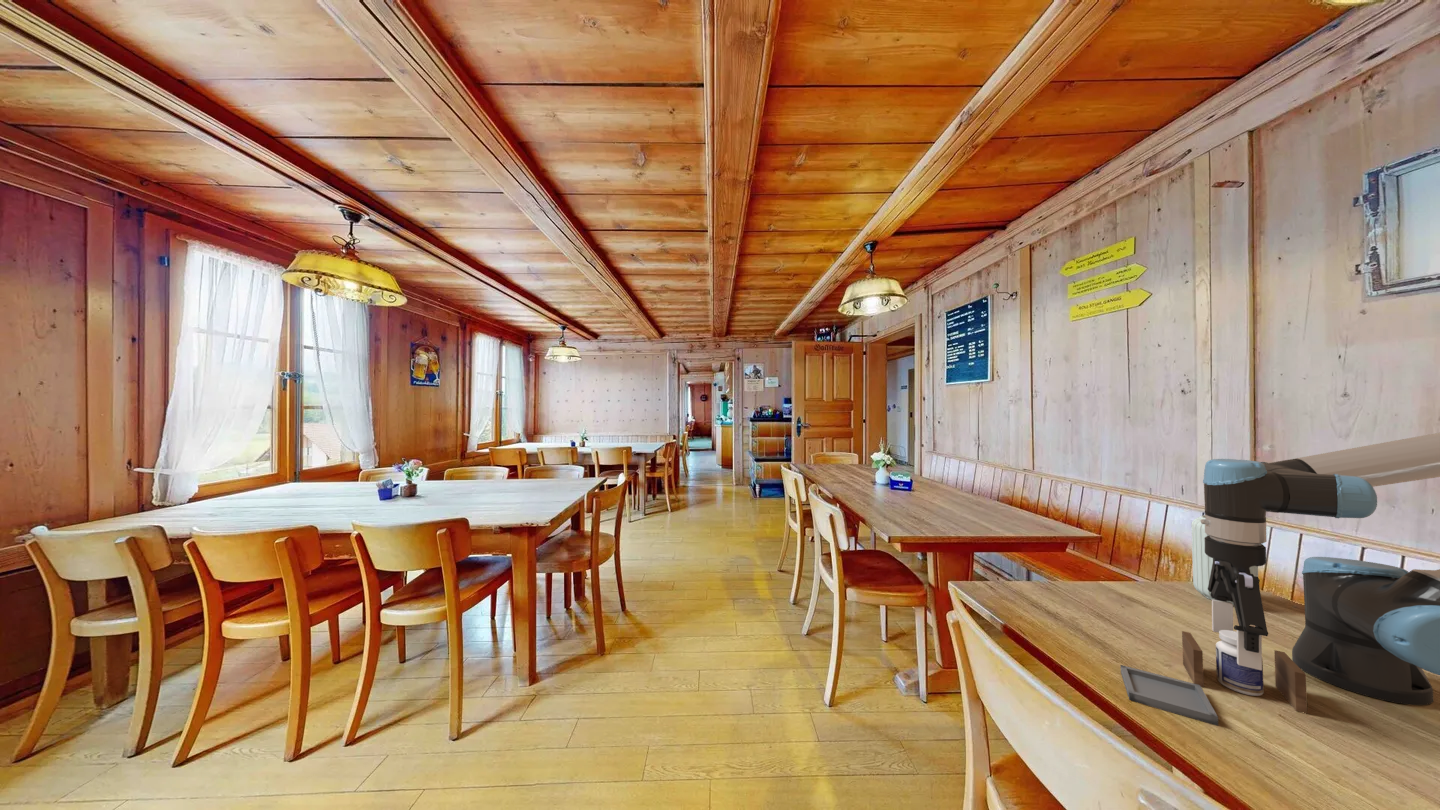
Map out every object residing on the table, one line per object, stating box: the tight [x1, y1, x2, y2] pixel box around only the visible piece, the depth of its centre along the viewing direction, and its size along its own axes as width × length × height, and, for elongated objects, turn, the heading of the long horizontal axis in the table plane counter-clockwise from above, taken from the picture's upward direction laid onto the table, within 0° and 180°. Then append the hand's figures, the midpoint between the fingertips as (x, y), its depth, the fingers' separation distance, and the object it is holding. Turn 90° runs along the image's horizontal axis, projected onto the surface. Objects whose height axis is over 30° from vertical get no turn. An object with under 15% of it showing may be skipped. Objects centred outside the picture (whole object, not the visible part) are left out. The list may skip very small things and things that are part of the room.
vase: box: [1190, 514, 1259, 607], centre depth 115 cm, size 12×12×22 cm
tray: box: [1120, 664, 1219, 727], centre depth 79 cm, size 11×10×2 cm
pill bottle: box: [1215, 630, 1265, 697], centre depth 81 cm, size 6×6×10 cm
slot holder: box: [1181, 630, 1308, 714], centre depth 81 cm, size 13×8×7 cm, turn 53°
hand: (1235, 648), depth 81 cm, fingers open, 13 cm apart
